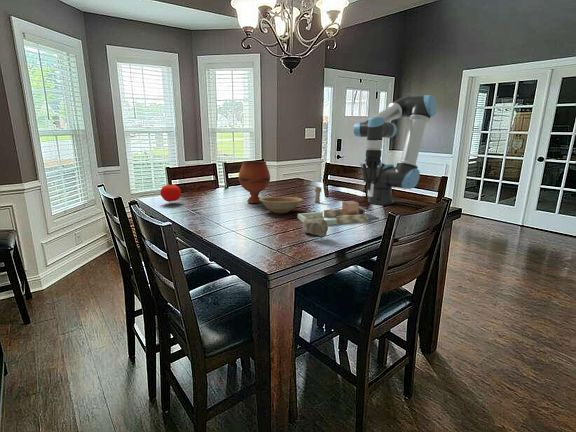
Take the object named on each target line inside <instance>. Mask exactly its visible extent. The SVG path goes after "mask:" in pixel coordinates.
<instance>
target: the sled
mask: <svg viewBox="0 0 576 432" xmlns="http://www.w3.org/2000/svg"><path fill="white" fill-rule="evenodd" d="M359 205H360V203H359V202H358V201H354V200H345V201H343V200H342V203H341V209H342V214H336V216H348V215H361V214H366V208H362V207H360V206H359ZM336 216H335V217H336Z"/></svg>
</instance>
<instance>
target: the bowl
mask: <svg viewBox="0 0 576 432" xmlns="http://www.w3.org/2000/svg"><path fill="white" fill-rule="evenodd" d="M259 198H260V199H259V200H260V201H261V202H260V203H262V204H263V205H264V206H265V208H267V209H268V210H270V211H271V212H272V213H274V214H287V213H289V212H291V211H293V210H294V209H295V208H297V206H298V205H299V203H302V202H303V201H304V199H303V198H300V197H295V196H267V197H259Z"/></svg>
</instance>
